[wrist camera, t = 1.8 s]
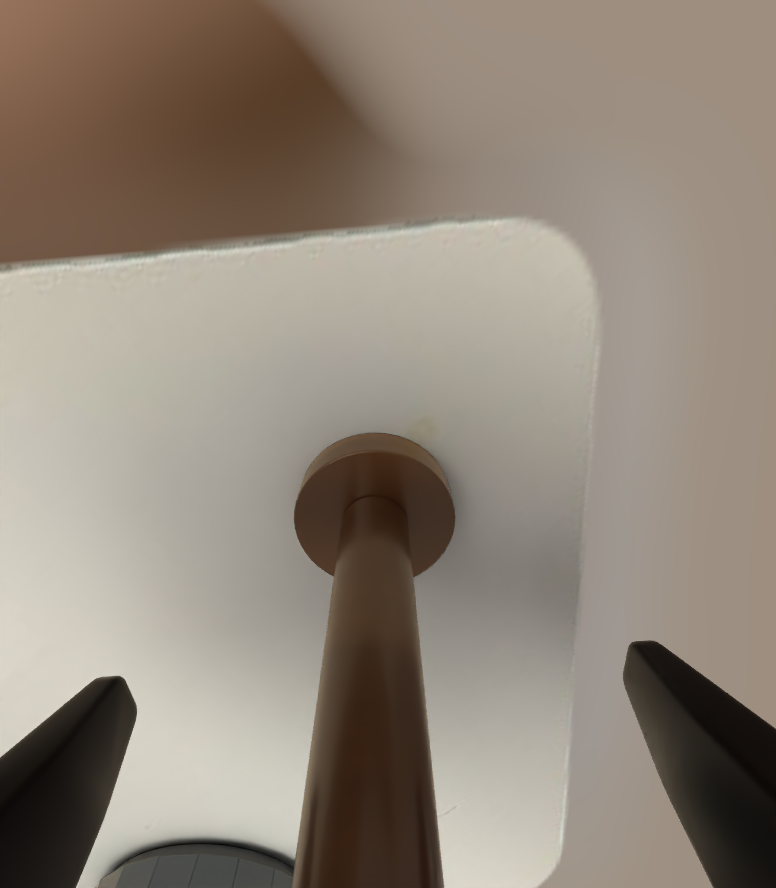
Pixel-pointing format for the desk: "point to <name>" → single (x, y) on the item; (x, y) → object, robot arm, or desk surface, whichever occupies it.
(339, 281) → the desk surface
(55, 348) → the desk surface
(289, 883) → the bowl
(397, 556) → the stirring stick
